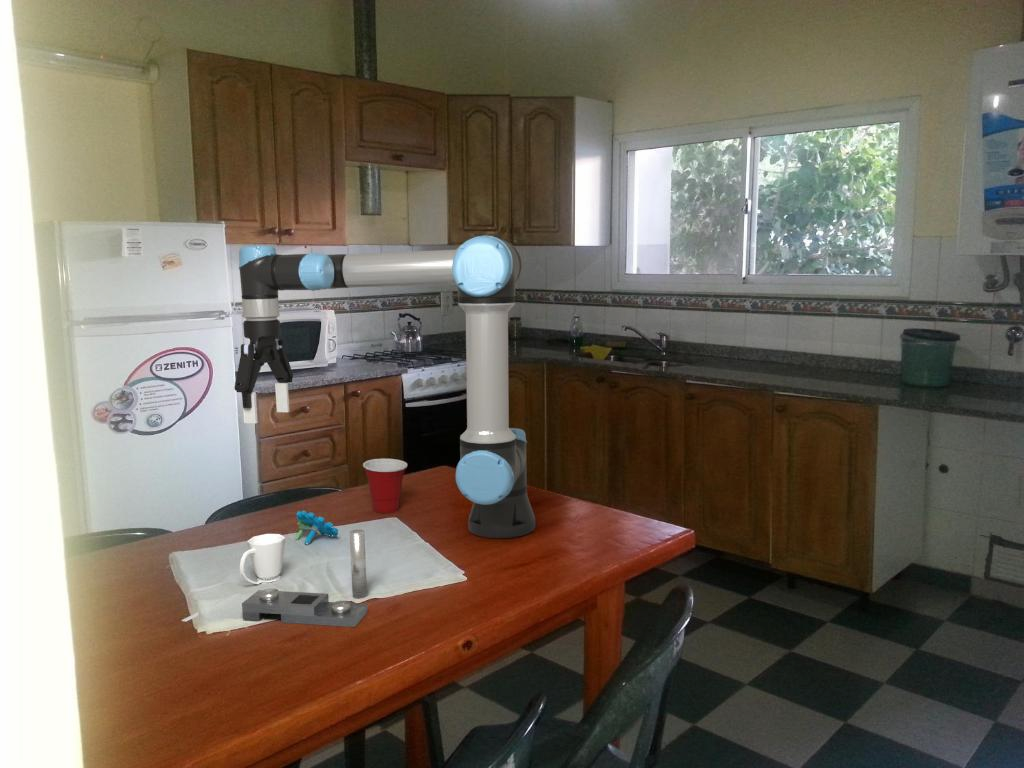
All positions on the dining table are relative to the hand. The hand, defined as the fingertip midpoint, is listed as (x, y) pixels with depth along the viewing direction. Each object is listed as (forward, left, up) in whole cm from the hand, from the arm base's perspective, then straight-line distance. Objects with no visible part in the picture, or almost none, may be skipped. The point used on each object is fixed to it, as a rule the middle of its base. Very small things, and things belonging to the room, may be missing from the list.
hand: (267, 417), depth 180 cm
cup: (-9, +24, -28) cm, 38 cm away
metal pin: (-30, +28, -28) cm, 50 cm away
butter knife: (-4, +43, -28) cm, 51 cm away
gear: (-9, -1, -28) cm, 29 cm away
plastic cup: (-17, -25, -28) cm, 41 cm away
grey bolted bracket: (-24, +38, -28) cm, 53 cm away
